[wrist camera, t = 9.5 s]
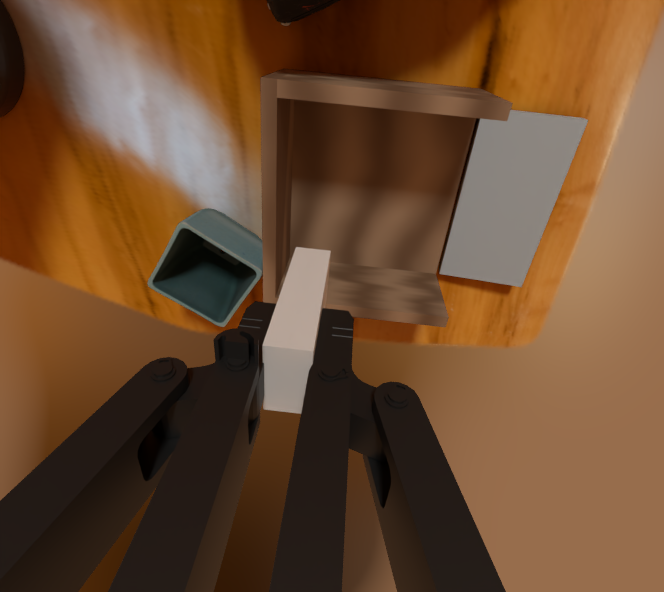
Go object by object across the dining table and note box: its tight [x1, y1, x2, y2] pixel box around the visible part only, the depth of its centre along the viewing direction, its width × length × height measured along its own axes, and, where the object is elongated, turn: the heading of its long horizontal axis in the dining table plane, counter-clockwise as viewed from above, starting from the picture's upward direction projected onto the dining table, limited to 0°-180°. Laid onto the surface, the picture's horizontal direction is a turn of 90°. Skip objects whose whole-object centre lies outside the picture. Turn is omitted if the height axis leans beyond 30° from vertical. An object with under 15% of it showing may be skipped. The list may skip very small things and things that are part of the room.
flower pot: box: [148, 209, 263, 327], centre depth 43 cm, size 9×9×9 cm
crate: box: [261, 69, 512, 327], centre depth 38 cm, size 18×20×10 cm
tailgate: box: [439, 110, 588, 287], centre depth 41 cm, size 1×17×9 cm
